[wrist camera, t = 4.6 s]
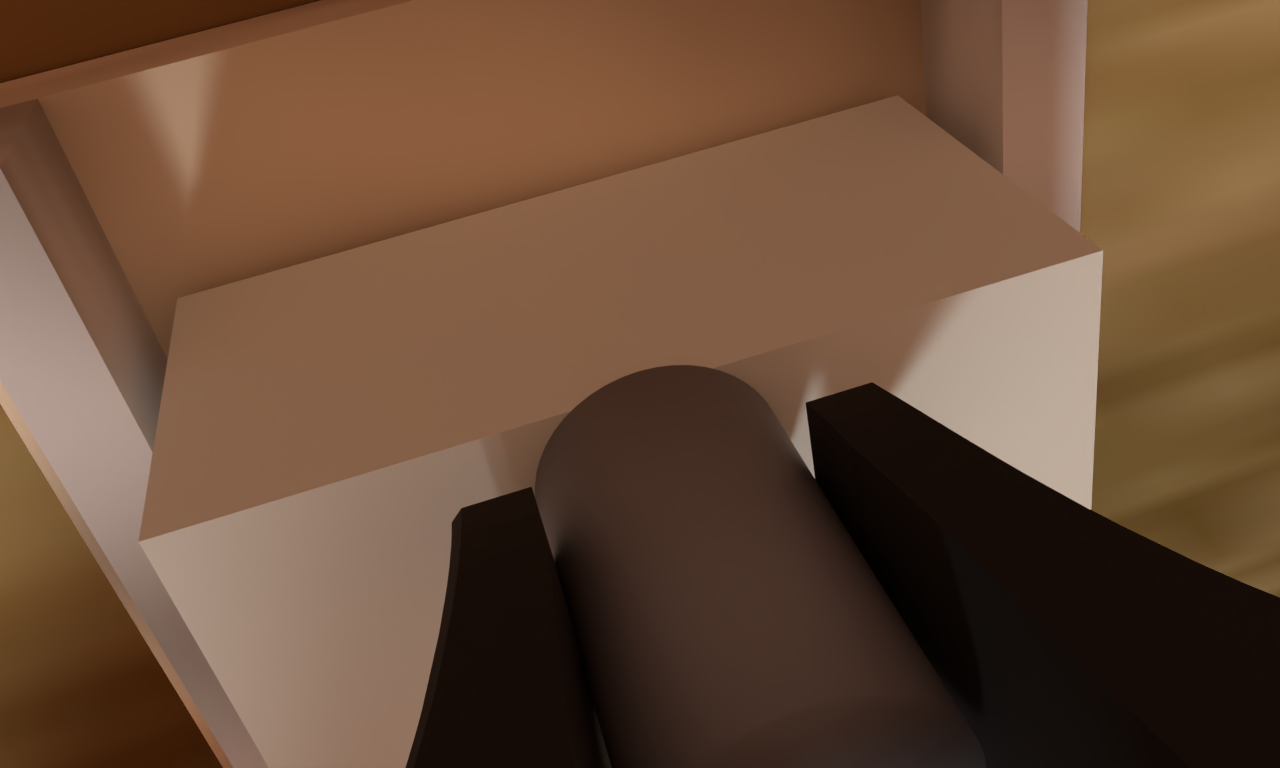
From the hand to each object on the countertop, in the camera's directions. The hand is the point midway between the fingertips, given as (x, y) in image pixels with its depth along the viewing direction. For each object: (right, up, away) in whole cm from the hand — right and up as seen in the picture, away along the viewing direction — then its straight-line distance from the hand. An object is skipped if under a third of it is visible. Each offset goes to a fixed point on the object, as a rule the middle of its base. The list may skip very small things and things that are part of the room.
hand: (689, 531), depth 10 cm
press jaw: (-1, +1, +6) cm, 6 cm away
